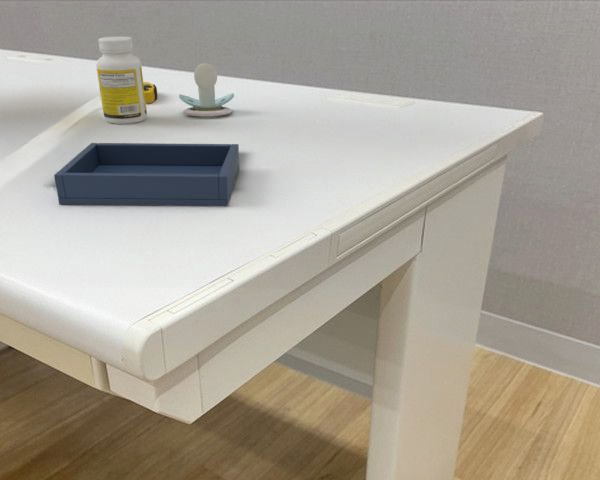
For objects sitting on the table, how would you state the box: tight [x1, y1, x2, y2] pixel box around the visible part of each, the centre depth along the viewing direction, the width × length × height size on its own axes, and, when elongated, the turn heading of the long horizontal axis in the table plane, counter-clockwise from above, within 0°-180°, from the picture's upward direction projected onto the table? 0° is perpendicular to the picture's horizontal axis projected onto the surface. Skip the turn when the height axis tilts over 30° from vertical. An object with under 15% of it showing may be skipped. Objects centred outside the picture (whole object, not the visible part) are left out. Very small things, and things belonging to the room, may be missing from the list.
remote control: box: [143, 81, 158, 105], centre depth 96 cm, size 5×2×15 cm
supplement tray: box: [53, 142, 240, 207], centre depth 58 cm, size 14×10×3 cm
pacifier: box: [178, 62, 235, 117], centre depth 84 cm, size 7×6×6 cm
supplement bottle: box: [95, 36, 148, 125], centre depth 80 cm, size 5×5×10 cm
